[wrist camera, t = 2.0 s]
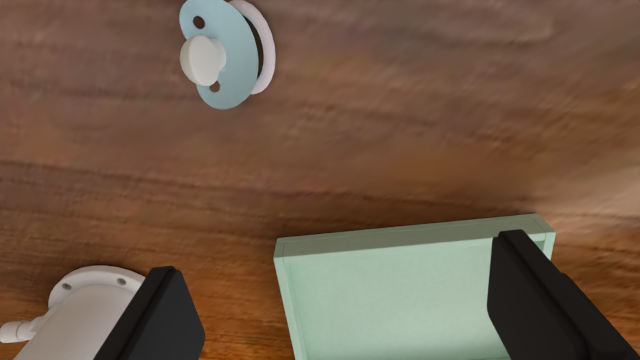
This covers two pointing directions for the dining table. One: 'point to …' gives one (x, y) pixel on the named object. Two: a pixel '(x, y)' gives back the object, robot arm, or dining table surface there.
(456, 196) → the dining table surface
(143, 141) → the dining table surface
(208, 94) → the pacifier
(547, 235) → the tray
